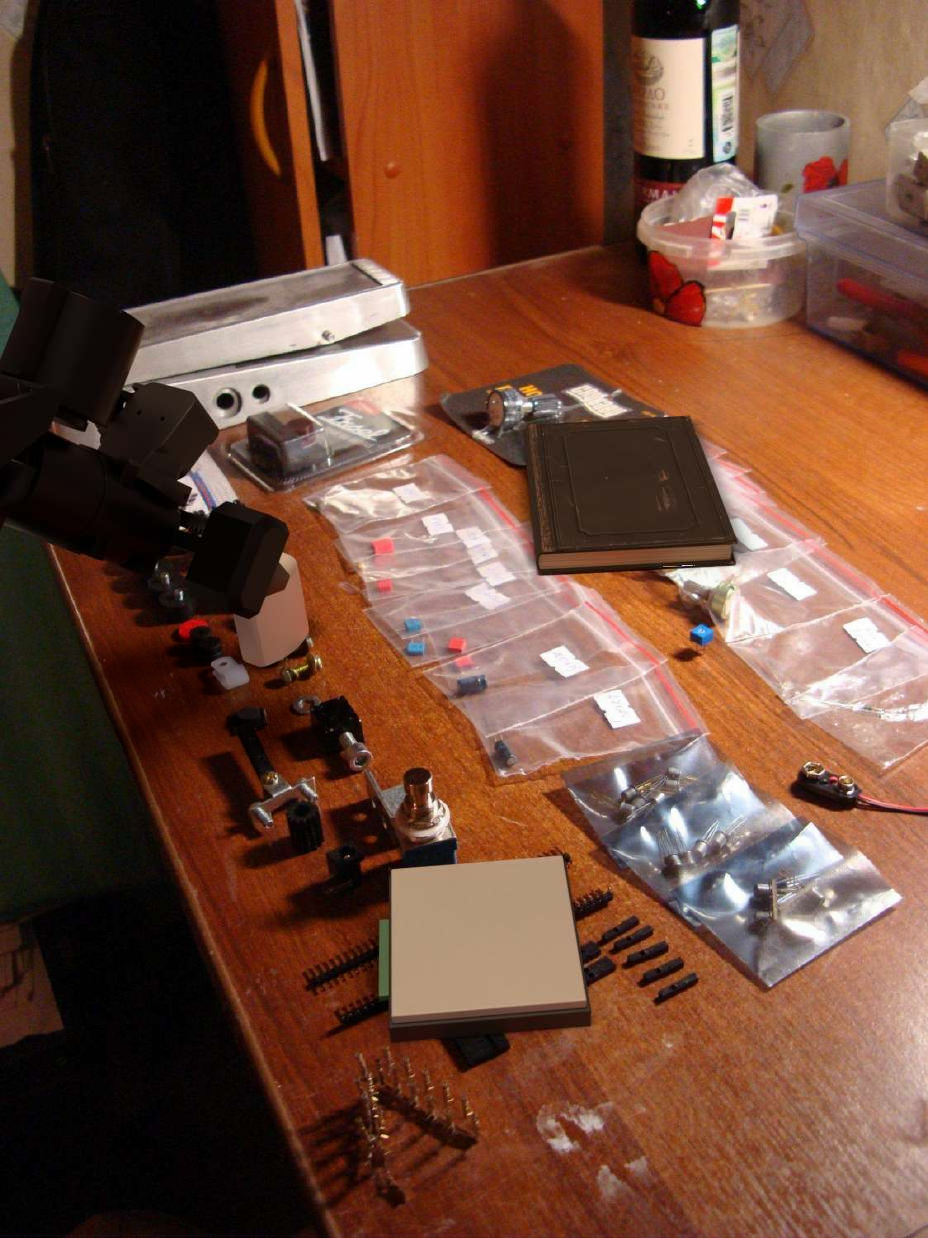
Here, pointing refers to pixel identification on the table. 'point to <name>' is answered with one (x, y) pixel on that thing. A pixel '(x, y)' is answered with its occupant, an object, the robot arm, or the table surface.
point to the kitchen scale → (481, 950)
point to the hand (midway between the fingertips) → (235, 564)
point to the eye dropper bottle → (275, 622)
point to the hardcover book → (623, 496)
